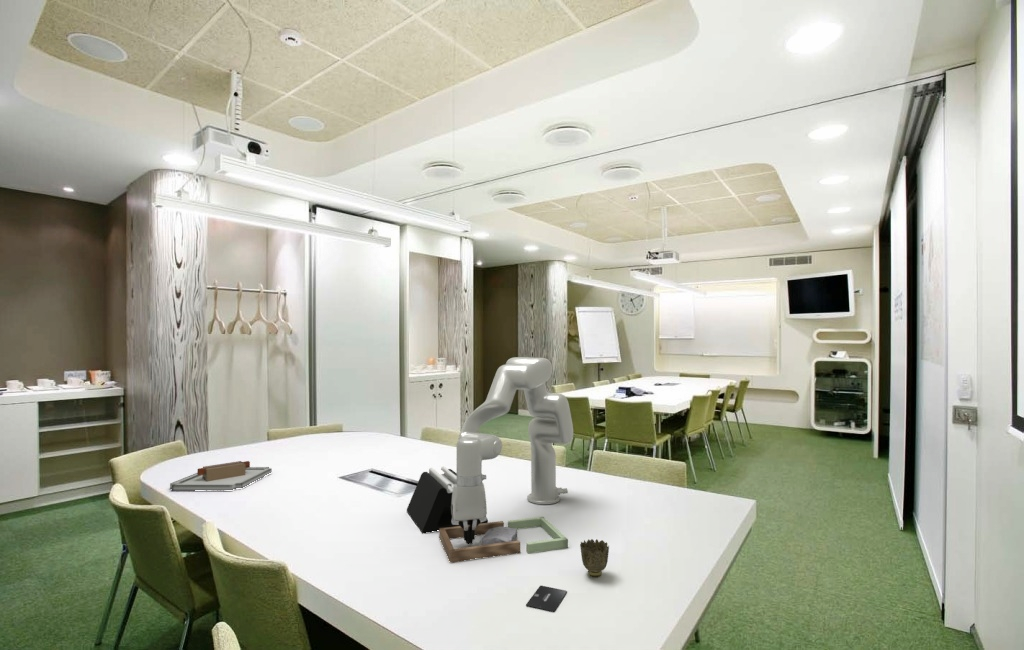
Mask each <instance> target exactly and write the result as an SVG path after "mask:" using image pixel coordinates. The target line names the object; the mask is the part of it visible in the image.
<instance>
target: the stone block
mask: <svg viewBox="0 0 1024 650" xmlns="http://www.w3.org/2000/svg"><path fill="white" fill-rule="evenodd" d="M482 536H483V537H482V538H481V542H480V545H488V544H495V543H503V542H510V541H517V538H518V529H517V528H515V529H514V528H510V527H508V526H504V527H496V528H491V529H489V530H488V531H487V532H486V533H485V534H484V535H482Z"/></svg>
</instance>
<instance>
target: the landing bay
mask: <svg viewBox="0 0 1024 650" xmlns="http://www.w3.org/2000/svg"><path fill="white" fill-rule="evenodd" d="M507 527H510V528H514V529H515V528H517V530H522V529H529V528H536V527H537V528H538V527H541V528H542V529H543V530H544V531H545V532H546V534H548V535H549V536H550V537H551V539H550V538H549V539H543V540H536V541H528V542H526V545H525V546H526V553H527V554H534V553H539V552H540V553H541V552H542V553H543V552H547V551H555V550H556V551H557V550H562V549H563V550H564V549H568V548H569V539H568V538H567V537H566V536H565V535H564V534H563V532H561V531H560V530H558V528H556V527H555V526H554V525H553V524H552V523H551V522H550V521H549V520H547V518H545V516H537V517H528V518H522V519H513V520H512V519H511V520H507Z"/></svg>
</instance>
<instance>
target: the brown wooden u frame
mask: <svg viewBox="0 0 1024 650" xmlns="http://www.w3.org/2000/svg"><path fill="white" fill-rule="evenodd" d="M469 526H470V525H468V528H469ZM496 527H505V522H504V520H500V521H491V522H490V521H489V522H488V523H481V524H479V525H478V526H477V527H476V529H475V535H477V536H484V534H485V533H486V532H487V531H488V530H489V529H491V528H496ZM459 537H461V538H464V529H463V528H462V527H461V526H456V527H447V528H439V531H438V539H439V538H440V539H439V541H440V540H441V541H440V543H441V546H442V545H443V546H442V547H444V548H443V550H444V553H445V552H446V553H445V555H446V554H447V555H446V557H447V556H448V557H447V560H448V559H449V560H448V561H450V562H452V563H458V561H459V562H465V561H464V560H466V561H471V560H470V559H474V560H476V559H475V558H481V559H484V558H483V557H488V558H494V557H493V556H495V557H501V556H500V555H502V556H507V554H509V555H515V554H516V553H517V554H521V541H520V540H516V541H510V542H503V543H495V544H488V545H481V544H480V545H475V546H468V547H467V546H465V547H459V548H458V547H457V548H455V547H454V545H453V544H452V542H451V539H450V538H453V539H459ZM450 562H449V563H450Z"/></svg>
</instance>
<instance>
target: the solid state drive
mask: <svg viewBox="0 0 1024 650" xmlns="http://www.w3.org/2000/svg"><path fill="white" fill-rule="evenodd" d="M567 593H568V591H567V590H566V589H560V588H554V587H550V586H545V585H539V587H538V588H537V589H536V590H535V592H534V593H533V595H531V598H529V600H528V601H527V602H526V603H525V606H526V607H527V608H530V609H531V608H532V609H536V610H540V611H545V612H548V613H549V612H550V613H555V612H556V611H557V609H558V608H559V606H560V605H561V603H562V601H563V600H564V598H565V597H566V595H567Z"/></svg>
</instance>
